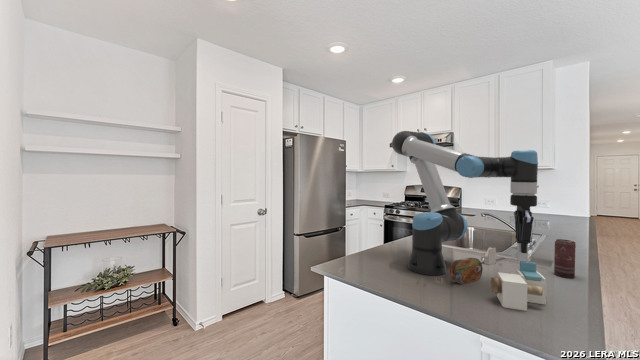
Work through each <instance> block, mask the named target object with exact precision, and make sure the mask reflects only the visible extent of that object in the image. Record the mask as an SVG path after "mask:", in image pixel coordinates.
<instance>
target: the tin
mask: <svg viewBox="0 0 640 360" xmlns="http://www.w3.org/2000/svg"><path fill="white" fill-rule="evenodd" d="M449 267H450V269H449V274H450V275H449V276H450V278H451V281H453V282H455V283H458V284H460V285H464V284H468V283H472V282H476V281H478V280H479V279H480V278H481V276H482V275H483V270H484V269H483V268H484V267H483V263H482V261H481V260H480V259H478V258H476V257H475V258H474V257H466V258H460V259H456V260H454V261H452V262H451V265H450V266H449Z"/></svg>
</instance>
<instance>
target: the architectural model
mask: <svg viewBox="0 0 640 360" xmlns="http://www.w3.org/2000/svg"><path fill="white" fill-rule="evenodd" d="M480 258H484V259H483V262H484V263H483V264H484V265H487V266H490V265H494V264H496V261H497V247H490V246H489V247H488V248H487V250H486V252H484V254H483V255H481V257H480Z"/></svg>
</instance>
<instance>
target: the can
mask: <svg viewBox="0 0 640 360" xmlns="http://www.w3.org/2000/svg"><path fill="white" fill-rule="evenodd" d="M576 246H577V245H576V241H574V240H568V239H562V238H559V239H555V241H554V260H553V263H554V266H553V273H554V275H555V276H558V277H560V278H566V279H573V278H574V277H575V276H576V272H575V271H576Z"/></svg>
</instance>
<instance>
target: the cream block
mask: <svg viewBox="0 0 640 360" xmlns="http://www.w3.org/2000/svg"><path fill="white" fill-rule="evenodd" d="M496 278H498V279H499V281H500V282H502V290H500V291H499V293H496V297H497V299H498V301H499V302H500V304H501V307H503V308H506V309H510V310H511V309H512V310H518V311H524V312H527V311H528V302H527V283H526V282H525V281H524V279H523V278H522V277H521V276H520V275H517V274H515V273H507V272H499V271H498V272H497V277H496Z"/></svg>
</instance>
